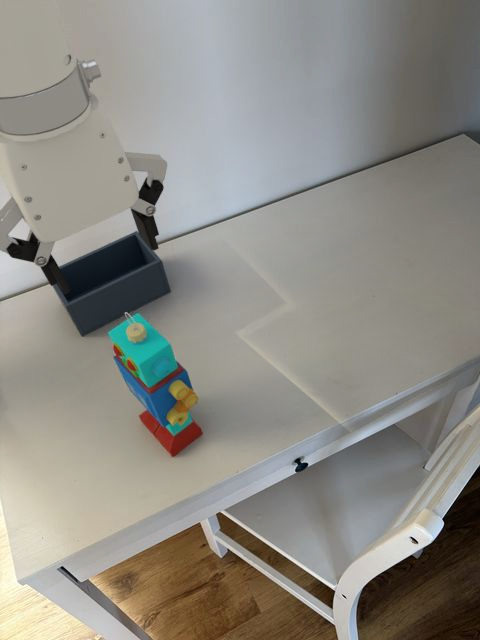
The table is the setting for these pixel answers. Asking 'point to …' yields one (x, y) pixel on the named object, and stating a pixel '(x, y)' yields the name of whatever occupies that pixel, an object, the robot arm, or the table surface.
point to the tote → (111, 282)
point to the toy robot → (156, 382)
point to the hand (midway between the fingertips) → (107, 263)
